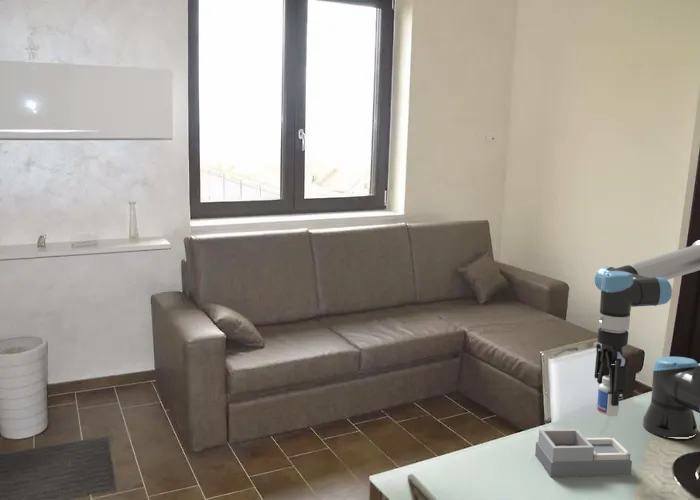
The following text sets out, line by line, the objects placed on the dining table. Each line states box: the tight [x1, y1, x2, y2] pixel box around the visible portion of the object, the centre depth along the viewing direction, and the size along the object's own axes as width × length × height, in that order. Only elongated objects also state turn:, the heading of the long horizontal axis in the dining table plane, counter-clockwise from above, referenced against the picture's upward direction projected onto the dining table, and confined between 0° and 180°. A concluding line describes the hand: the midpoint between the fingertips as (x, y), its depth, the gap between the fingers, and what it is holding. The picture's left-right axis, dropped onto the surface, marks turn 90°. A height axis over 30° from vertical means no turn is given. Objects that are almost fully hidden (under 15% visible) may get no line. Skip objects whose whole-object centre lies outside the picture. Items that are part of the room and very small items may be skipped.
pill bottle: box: [596, 375, 621, 416], centre depth 173 cm, size 6×5×10 cm
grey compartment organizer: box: [534, 428, 633, 478], centre depth 175 cm, size 22×12×8 cm, turn 93°
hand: (606, 410), depth 174 cm, fingers closed on pill bottle, 5 cm apart
